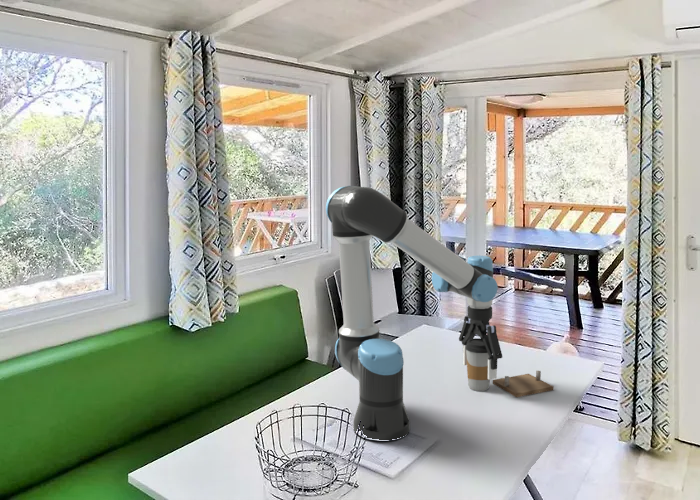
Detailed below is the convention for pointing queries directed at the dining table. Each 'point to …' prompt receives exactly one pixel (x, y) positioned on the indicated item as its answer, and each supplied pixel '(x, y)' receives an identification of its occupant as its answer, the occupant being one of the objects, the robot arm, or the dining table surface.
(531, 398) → the dining table surface
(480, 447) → the dining table surface
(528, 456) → the dining table surface
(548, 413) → the dining table surface
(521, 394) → the wooden board with pegs
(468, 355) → the coffee cup
